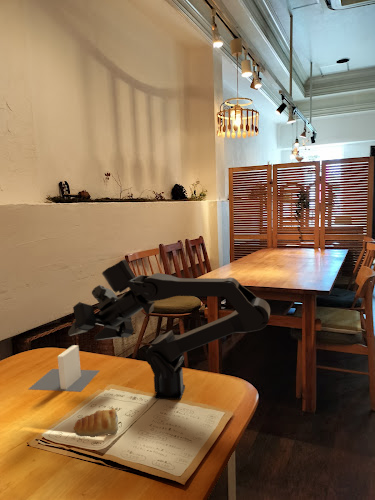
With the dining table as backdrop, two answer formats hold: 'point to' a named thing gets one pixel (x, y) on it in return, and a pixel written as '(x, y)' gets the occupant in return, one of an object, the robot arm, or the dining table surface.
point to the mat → (53, 381)
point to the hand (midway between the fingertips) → (82, 336)
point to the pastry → (97, 423)
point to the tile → (69, 366)
